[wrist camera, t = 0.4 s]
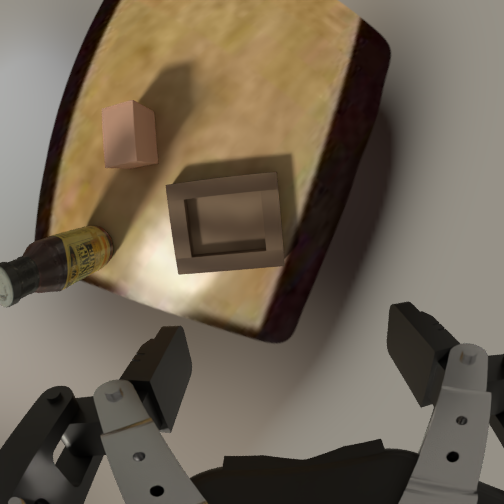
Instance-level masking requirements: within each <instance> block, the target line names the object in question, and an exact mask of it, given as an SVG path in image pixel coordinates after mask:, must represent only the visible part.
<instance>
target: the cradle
mask: <svg viewBox="0 0 504 504" xmlns="http://www.w3.org/2000/svg"><path fill="white" fill-rule="evenodd" d="M166 192H167V200H168V208H169V216H170V223H171V230H172V237H173V244H174V250H175V256H176V262H177V268H178V274H192V273H205V272H217V271H230V270H242V269H254V268H266V267H277V266H285V263H284V250H283V238H282V226H281V214H280V203H279V192H278V181H277V172H269V173H259V174H249V175H239V176H230V177H221V178H213V179H205V180H198V181H190V182H183V183H177V184H170V185H166Z"/></svg>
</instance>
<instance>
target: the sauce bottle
mask: <svg viewBox="0 0 504 504" xmlns="http://www.w3.org/2000/svg"><path fill="white" fill-rule="evenodd" d="M112 254H113V244H112V240H111V237H110V235H109V234H108V233H107V232H106V231H105V230H104V229H103V228H101V227H98V226H86V227H82V228H78V229H74V230H70V231H67V232H63V233H59V234H56V235H52V236H49V237H47V238H45V239H41V240H37V241H35V242H33V243H31V244H30V245H29V246H28V247H27V249H26V250H25V252H24V254H23V256H22V257H18V258H17V259H16V260H13V261H11V262H8V263H7V262H1V263H0V305H1V306H3V307H10V306H12V305H14V304H16V303H18V302H19V300H20V299H21V298H23V297H25V296H27V295H29V294H32V293H34V292H37V293H43V292H54V291H61V290H63V289H65V288H67V287H68V286H70V285H72V284H74V283H76V282H78V281H80V280H82V279H83V278H85V277H87V276H89V275H90V274H92V273H94V272H96V271H98V270H100V269H101V268H103V267H104V266H105V265H106V264H107V263H108V262H109V260H110V259H111V257H112Z"/></svg>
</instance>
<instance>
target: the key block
mask: <svg viewBox="0 0 504 504" xmlns="http://www.w3.org/2000/svg"><path fill="white" fill-rule="evenodd" d="M102 127H103V144H104V158H105V168H127V169H132V168H137V167H142V166H147V165H152V164H158V152H157V141H156V129H155V114H154V111H152V110H150V109H148V108H147V107H145V106H143V105H141V104H139V103H138V102H136V101H134V100H130V101H127V102H123V103H120V104H116V105H113V106H110V107H106V108H103V109H102Z"/></svg>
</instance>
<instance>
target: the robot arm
mask: <svg viewBox="0 0 504 504" xmlns="http://www.w3.org/2000/svg"><path fill="white" fill-rule="evenodd" d="M387 349H388V352H389V355H390V356H391V358H392V359H393V361H394V363H395V365H396V366H397V368H398V369H399V371H400V373H401V374H402V376H403V378H404V379H405V381H406V383H407V385H408V386H409V388H410V390H411V391H412V393H413V395H414V396H415V398H416V400H417V402H418V404H419V405H420V407H424V406H428V405H430V404H433V406H434V409H433V412H432V415H431V418H430V422H429V425H428V427H427V430H426V433H425V436H424V438H423V441H422V444H421V446H420V449H419V451H418V453H415V452H411V451H407V450H401V449H385V448H384V446H383V443H382V440H381V439H377V440H373V441H368V442H364V443H359V444H354V445H349V446H344V447H341V448H338V449H336V450H333V451H330V452H327V453H325V454H322V455H319V456H316V457H313V458H310V459H306V460H298V459H289V458H280V457H272V456H264V455H260V456H224V462H223V467H219V468H214V469H211V470H207V471H205V472H202V473H199V474H197V475H195V476H193V477H191V478H189V477H188V476H187V474H186V473H185V471H184V470H183V468H182V467H181V465H180V464H179V462H178V461H177V459H176V458H175V456H174V454H173V453H172V451H171V450H170V448H169V447H168V445H167V443H166V442H165V440H164V438H163V437H162V435H161V433H160V432H165V433H171V431H172V428H173V425H174V422H175V419H176V416H177V414H178V411H179V408H180V405H181V402H182V399H183V396H184V393H185V390H186V388H187V385H188V382H189V379H190V376H191V372H192V362H191V357H190V353H189V349H188V345H187V341H186V337H185V333H184V330H183V328H182V327H181V326H163V327H162V328H161V329H160V331H159V332H158V334H157V335H156V337H155V339H150V340H149V341H147V342H146V343H145V344H143V345H142V346H141V347H140V349H139V350H138V352H137V355H135V356H134V358H133V359H132V361H131V362H130V364H129V365H128V367H127V368H126V370H125V371H124V373H123V374H122V376H121V377H120V379H119V380H112V381H109V382H106V383H104V384H102V385H101V386H99V387H98V388H97V389H96V391H95V393H94V396H92V397H82V398H75V396H74V394H73V392H72V390H71V389H70V388H69V387H66V386H56V387H52V388H50V389H48V390H46V391H45V392H44V393H42V395H41V396H40V397H39V398H38V399H37V401H36V402H35V403H34V405H33V406H32V407H31V409H30V410H29V411H28V412H27V414H26V415H25V416H24V418H23V419H22V420H21V422H20V423H19V424H18V426H17V427H16V428H15V430H14V431H13V433H12V434H11V435H10V437H9V438H8V440H7V441H6V442H5V444H4V445H3V446H2V448H1V449H0V504H84V501H85V499H86V496H87V494H88V491H89V489H90V487H91V484H92V481H93V479H94V477H95V474H96V472H97V470H98V467H99V465H100V463H101V460H102V458H103V456H104V455H107V458H108V461H109V464H110V467H111V469H112V472H113V475H114V477H115V480H116V482H117V485H118V487H119V490H120V492H121V494H122V497H123V499H124V501H125V504H504V491H503V490H500V489H498V488H495V487H493V486H490V485H487V484H485V483H482V482H480V481H479V477H480V473H481V468H482V463H483V458H484V453H485V447H486V441H487V435H488V427H489V424H490V426H491V427H492V429H493V431H494V432H495V434H496V435H497V437H498V439H499V441H500V442H501V444H502V446H503V447H504V354H502V355H491V356H488V355H487V353H486V351H485V350H484V349H482V348H481V347H479V346H477V345H474V344H467V343H466V344H460V343H459V342H458V341H457V340H456V339H455V338H454V337H453V336H452V335H451V334H450V333H449V332H448V331H447V330H446V329H444V327H443V326H442V325H441V324H439V322H438V321H437V320H436V319H435V318H434V317H433V316H431V315H429V314H427V313H425V312H422V311H421V312H420V311H419V310H418V309H417V308H416V307H415V306H414V305H413V304H412V303H411V302H404V303H398V304H392V305H391V306H390V310H389V321H388V333H387ZM60 439H61V440H62V442H63V443H64V445H65V448H64V449H63V451H62V453H61V455H60V457H59V458H58V460H57V462H56V464H54V462H53V452H54V450H55V448H56V446H57V444H58V443H59V441H60Z"/></svg>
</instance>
